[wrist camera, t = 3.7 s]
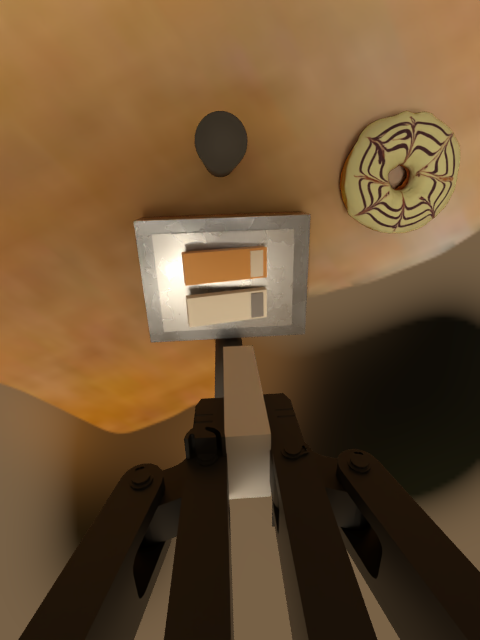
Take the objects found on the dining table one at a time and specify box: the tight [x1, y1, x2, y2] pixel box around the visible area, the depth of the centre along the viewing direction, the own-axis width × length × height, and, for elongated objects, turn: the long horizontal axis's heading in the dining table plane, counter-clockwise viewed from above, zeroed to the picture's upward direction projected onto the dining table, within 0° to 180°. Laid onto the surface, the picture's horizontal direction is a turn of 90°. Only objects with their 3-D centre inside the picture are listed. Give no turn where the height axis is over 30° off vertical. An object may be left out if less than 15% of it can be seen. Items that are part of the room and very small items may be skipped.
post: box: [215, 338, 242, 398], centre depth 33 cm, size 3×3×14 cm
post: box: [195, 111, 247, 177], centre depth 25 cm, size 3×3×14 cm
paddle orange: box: [181, 246, 267, 286], centre depth 30 cm, size 8×3×1 cm, turn 92°
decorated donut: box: [340, 111, 460, 233], centre depth 32 cm, size 10×11×4 cm
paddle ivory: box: [186, 287, 267, 327], centre depth 32 cm, size 8×3×1 cm, turn 92°
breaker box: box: [134, 212, 310, 342], centre depth 34 cm, size 16×12×5 cm
